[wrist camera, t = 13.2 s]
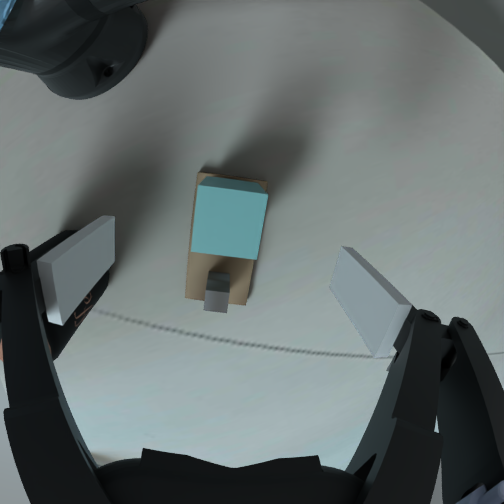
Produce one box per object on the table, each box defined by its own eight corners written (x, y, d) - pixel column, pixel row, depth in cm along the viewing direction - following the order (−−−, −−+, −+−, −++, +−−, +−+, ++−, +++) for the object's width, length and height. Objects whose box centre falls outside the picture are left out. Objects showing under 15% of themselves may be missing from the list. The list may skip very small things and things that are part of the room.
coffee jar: (90, 309, 36) (35, 392, 20) (42, 262, 33) (-31, 324, 16) (126, 265, 34) (63, 351, 18) (73, 211, 31) (-19, 262, 14)
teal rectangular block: (200, 225, 31) (190, 251, 23) (206, 175, 29) (198, 185, 21) (249, 231, 32) (256, 259, 24) (257, 182, 30) (268, 194, 22)
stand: (186, 293, 36) (173, 340, 27) (198, 171, 31) (184, 180, 22) (245, 300, 37) (250, 349, 28) (266, 181, 32) (282, 194, 23)
